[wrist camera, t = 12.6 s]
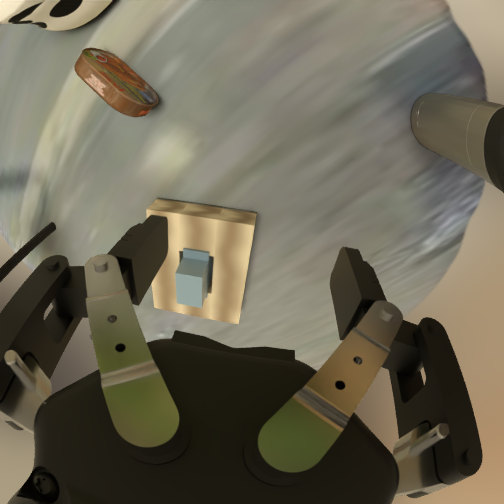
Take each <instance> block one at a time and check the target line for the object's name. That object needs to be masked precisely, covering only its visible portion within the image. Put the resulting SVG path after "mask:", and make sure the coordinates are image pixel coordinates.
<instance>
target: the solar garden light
mask: <svg viewBox="0 0 504 504" xmlns="http://www.w3.org/2000/svg"><path fill="white" fill-rule="evenodd" d="M55 229H56V225H55V224H54V223H52V222H51V223H50V224H49V225H48V226H46V227H45V228H44V229H43V230H42V231H40V232H39V233H38V234H37V235H36V236H34V237H33V238H32V239H31V240H30V241H29V242H28V243H26V244H25V245H24V246H23V247H22V248H21V249H20V250H19V251H18V252H17V253H15V254H14V255H13V256H12V257H11V258H10V259H9V260H8V261H7V262H6V263H5V264H4V265H3V266H2V267H1V268H0V282H1V281H2V280H3V279H4V278H5V277H6V276H7V275H8V273H9V272H10V271H11V270H12V269H13V268H14V267H15V266H16V265H17V264H18V263H19V262H20V261H21V260H22V259H23V258H25V257H26V256H27V255H28V254H29V253H30V252H31V251H32V250H33V249H34V248H35V247H36V246H37V245H38V244H40V243H41V242H42V241H43V240H44V239H45V238H46V237H47V236H49V235H50V234H51V233H52V232H53V231H54V230H55Z"/></svg>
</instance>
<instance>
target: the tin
mask: <svg viewBox="0 0 504 504" xmlns="http://www.w3.org/2000/svg"><path fill="white" fill-rule="evenodd" d="M75 71H76V73H77V75H78V76H79V77H80V78H81V79H82V80H83V81H84V82H85V83H86V84H87V85H89V86H90V87H91V88H92V89H93V90H94V91H95V92H96V93H97V94H98V95H99V96H100V97H101V98H102V99H103V100H104V101H105V102H106V103H108V104H109V105H110V106H111V107H112V108H114V109H115V110H117V111H118V112H120V113H122V114H125V115H127V116H131V117H141V116H145V115H146V114H148V113H149V111H150V110H151V109H152V108H153V107H154V106H155V105H156V104H157V103H158V97H157V94H156V93H155V91H154V90H153V89H152V88H151V86H149V85H148V84H147V83H146V82H145V81H144V80H143V79H142V78H141V77H140V76H138V75H137V74H136V73H135V72H134V71H133V70H132V69H131V68H129V67H128V66H127V65H126V64H125V63H124V62H123V61H121V60H120V59H119V58H118V57H116V56H114V55H113V54H111V53H109V52H106V51H104V50H101V49H96V48H86V49H84V50H83V51H82V53H81V55H80V57H79V58H78V60H77V62H76V64H75Z"/></svg>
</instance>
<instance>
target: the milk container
mask: <svg viewBox="0 0 504 504" xmlns="http://www.w3.org/2000/svg"><path fill="white" fill-rule="evenodd" d="M112 1H113V0H0V23H1V24H6V23H12V24H34V25H36V26H38V27H40V28H43V29H45V30H50V31H62V30H69V29H74V28H77V27H79V26H81V25H84V24H86V23H87V22H89V21H91V20H92V19H93V18H95V17H96V16H98V15H99V14H100V13H101V12H102V11H103V10H104V9H105V8H106V7H107V6H108V5H109V4H110V3H111V2H112Z"/></svg>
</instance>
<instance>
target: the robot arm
mask: <svg viewBox="0 0 504 504" xmlns="http://www.w3.org/2000/svg"><path fill="white" fill-rule="evenodd" d="M411 125H412V130H413V132H414V135H415V137H416V138H417V140H418V141H419V142H420V143H421V144H422V145H423V146H424V147H426V148H427V149H429V150H431V151H433V152H436V153H438V154H439V155H441V156H443V157H445V158H447V159H449V160H451V161H453V162H455V163H456V164H458V165H460V166H462V167H464V168H465V169H467V170H469V171H471V172H472V173H474V174H476V175H477V176H479V177H481V178H482V179H484V180H486V181H487V182H489V183H491V184H492V185H494V186H495V187H497V188H498V189H499V190H501V191H502V192H503V193H504V105H502V104H497V103H493V102H488V101H483V100H477V99H472V98H466V97H459V96H452V95H445V94H436V93H428V94H424V95H423V96H421V97H420V98H419V99H418V100H417V101H416V102H415V104H414V106H413V109H412V112H411ZM167 253H168V219H167V217H165V216H158V215H150V216H149V217H148V218H147V219H146V220H145V222H144V223H143V224H141V223H139V224H137V225H135V226H133V227H131V228H130V229H129V230H128V231H127V232H126V233H125V235H124V236H123V237H122V238H121V240H119V241H118V242H117V243H116V245H115V246H114V247H113V248H112V249H111V250H110V251H109V253H108V254H101V255H97V256H94V257H92V258H90V259H89V260H88V261H87V262H86V264H85V266H69V263H68V259H67V258H66V257H65V256H62V255H55V256H51V257H49V258H47V259H45V260H44V261H43V262H42V263H41V264H40V265H39V266H38V267H37V268H36V269H35V270H34V272H33V273H32V274H31V275H30V276H29V278H28V279H27V280H26V281H25V282H24V283H23V285H22V286H21V287H20V288H19V289H18V291H17V292H16V293H15V294H14V296H13V297H12V299H11V300H10V301H9V302H8V303H7V305H6V306H5V308H4V309H3V310H2V312H1V313H0V419H2V420H4V421H5V422H7V423H8V424H9V425H10V426H11V427H13V428H14V429H17V430H23V429H25V430H26V431H28V432H29V433H31V434H33V435H34V440H35V459H34V467H33V471H32V473H31V475H30V477H29V478H28V480H27V481H26V482H25V483H24V485H23V486H22V487H21V488H20V490H18V491H17V492H16V493H15V495H14V496H13V497H12V498H11V499H10V500H9V502H8V504H391V503H392V501H393V499H394V497H397V496H403V495H407V496H408V497H411V498H418V497H421V496H424V495H427V494H429V493H432V492H435V491H438V490H440V489H442V488H445V487H447V486H450V485H452V484H454V483H456V482H459V481H461V480H463V479H465V478H467V477H469V476H471V475H473V474H475V473H476V472H477V471H478V470H479V468H480V466H481V463H482V449H481V443H480V438H479V434H478V429H477V425H476V420H475V416H474V412H473V408H472V405H471V401H470V398H469V394H468V391H467V388H466V384H465V381H464V378H463V375H462V372H461V369H460V366H459V364H458V361H457V358H456V355H455V353H454V351H453V348H452V345H451V343H450V340H449V338H448V335H447V333H446V331H445V329H444V327H443V326H442V325H441V324H440V323H439V322H438V321H436V320H435V319H432V318H428V317H426V318H423V319H422V320H421V321H420V323H419V324H418V325H416V324H413V323H410V322H407V321H405V320H403V315H402V313H401V311H400V310H399V309H398V308H397V307H396V306H395V305H394V304H392V303H390V302H387V300H386V298H385V295H384V293H383V290H382V288H381V285H380V284H379V281H378V278H376V277H377V276H376V274H375V271H374V269H373V268H372V267H371V266H370V265H369V264H368V263H367V262H366V261H363V259H362V256H361V254H360V252H359V250H358V249H353V248H348V247H342V248H341V250H340V252H339V255H338V258H337V261H336V263H335V266H334V269H333V271H332V274H331V279H330V289H331V294H332V299H333V304H334V309H335V314H336V320H337V325H338V331H339V337H340V340H343V342H342V343H341V344H340V345H339V347H338V348H337V349H336V350H335V351H334V353H333V354H332V355H331V356H330V357H329V359H328V360H327V361H326V362H325V363H324V365H323V366H322V367H321V368H320V369H319V370H318V371H316V370H315V369H313V368H312V367H310V366H308V365H307V364H305V363H303V362H301V361H298V360H295V350H287V349H279V348H272V347H251V348H232V347H229V346H226V345H224V344H221V343H219V342H217V341H214V340H212V339H209V338H207V337H205V336H200V335H195V334H191V333H186V332H181V331H177V330H175V332H174V335H173V337H172V339H160V340H154V341H151V342H148V343H146V341H145V338H144V335H143V333H142V330H141V327H140V325H139V322H138V319H137V316H136V314H135V311H134V308H133V305H132V304H135V305H139V304H140V303H141V301H142V299H143V297H144V295H145V294H146V292H147V290H148V288H149V287H150V285H151V283H152V281H153V280H154V278H155V276H156V274H157V273H158V271H159V269H160V268H161V266H162V264H163V263H164V261H165V259H166V257H167ZM50 303H52V305H53V308H52V310H51V311H50V313H49V314H48V316H47V317H46V319H45V320H44V319H43V318H44V313H45V311H46V309H47V308H48V306H49V305H50ZM82 317H85V318H86V317H88V318H89V324H90V330H91V335H92V340H93V345H94V349H95V354H96V359H97V363H98V367H99V369H98V370H96V371H95V372H93V373H91V374H89V375H87V376H86V377H84V378H82V379H80V380H78V381H76V382H75V383H73V384H71V385H69V386H67V387H65V388H63V389H62V390H60V391H58V392H56V393H54V394H52V395H51V396H50V394H51V382H50V378H51V376H52V374H53V372H54V370H55V368H56V365H57V364H58V362H59V360H60V358H61V356H62V354H63V352H64V350H65V348H66V346H67V344H68V342H69V340H70V338H71V337H72V335H73V333H74V331H75V330H76V328H77V326H78V324H79V323H80V321H81V319H82ZM381 367H383V368H386V369H389V373H390V379H391V384H392V390H393V396H394V402H395V410H396V417H397V425H398V433H399V440H398V441H397V442H396V443H395V446H394V449H393V454H391V453H390V451H389V450H388V449H387V448H386V447H385V446H384V445H383V444H382V443H381V441H380V440H379V439H378V438H377V437H376V436H375V435H374V434H373V433H372V432H371V431H370V430H369V428H368V427H367V426H366V425H365V424H364V423H363V422H362V421H361V419H360V418H359V417H358V416H357V415H356V414H355V413H354V411H355V410H356V408H357V406H358V405H359V403H360V402H361V400H362V399H363V397H364V395H365V394H366V392H367V391H368V389H369V388H370V386H371V384H372V383H373V381H374V379H375V377H376V375H377V374H378V372H379V370H380V369H381ZM423 367H424V371H425V374H426V382H425V385H424V383H423V379H422V376H421V372H420V370H421V369H422V368H423Z"/></svg>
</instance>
